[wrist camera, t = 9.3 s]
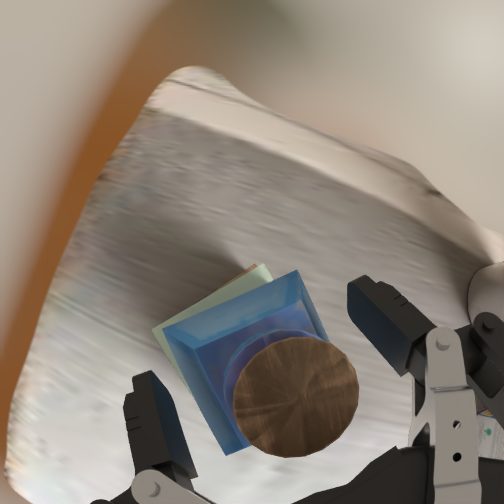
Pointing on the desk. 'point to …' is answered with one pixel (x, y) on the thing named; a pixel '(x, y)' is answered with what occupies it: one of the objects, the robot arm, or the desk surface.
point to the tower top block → (224, 294)
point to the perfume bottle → (266, 371)
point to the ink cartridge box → (489, 436)
